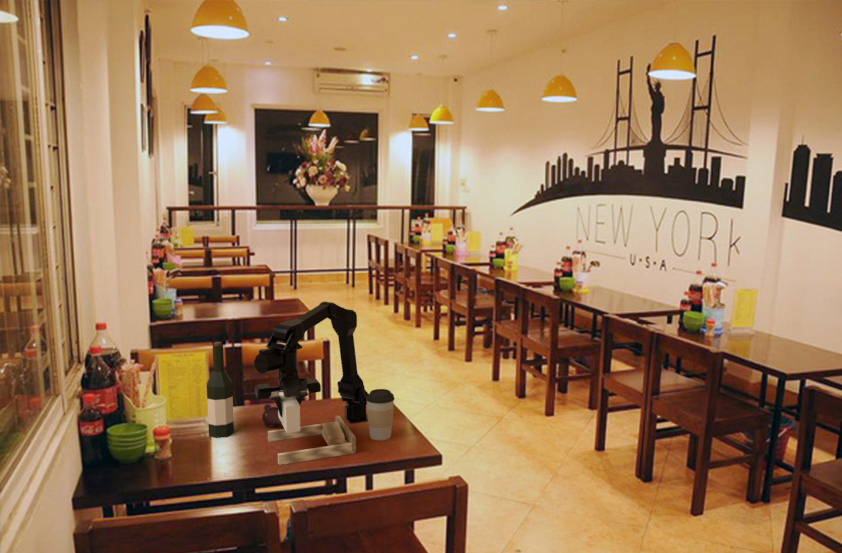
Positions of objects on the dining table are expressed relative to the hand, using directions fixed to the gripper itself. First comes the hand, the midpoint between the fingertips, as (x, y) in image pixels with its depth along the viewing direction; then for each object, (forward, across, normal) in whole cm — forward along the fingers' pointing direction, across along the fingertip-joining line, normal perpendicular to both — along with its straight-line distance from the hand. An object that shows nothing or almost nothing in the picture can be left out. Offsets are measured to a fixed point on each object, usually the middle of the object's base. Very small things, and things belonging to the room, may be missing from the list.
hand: (288, 415), depth 193 cm
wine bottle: (+11, -18, +21) cm, 30 cm away
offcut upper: (+9, +14, 0) cm, 16 cm away
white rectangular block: (+2, 0, 0) cm, 2 cm away
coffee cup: (+11, +29, 0) cm, 31 cm away
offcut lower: (+11, +14, 0) cm, 18 cm away
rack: (+11, +7, 0) cm, 13 cm away
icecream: (+11, -2, +21) cm, 24 cm away
